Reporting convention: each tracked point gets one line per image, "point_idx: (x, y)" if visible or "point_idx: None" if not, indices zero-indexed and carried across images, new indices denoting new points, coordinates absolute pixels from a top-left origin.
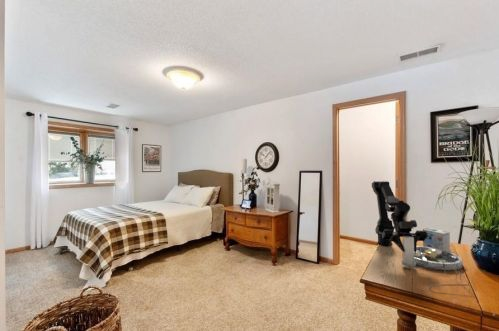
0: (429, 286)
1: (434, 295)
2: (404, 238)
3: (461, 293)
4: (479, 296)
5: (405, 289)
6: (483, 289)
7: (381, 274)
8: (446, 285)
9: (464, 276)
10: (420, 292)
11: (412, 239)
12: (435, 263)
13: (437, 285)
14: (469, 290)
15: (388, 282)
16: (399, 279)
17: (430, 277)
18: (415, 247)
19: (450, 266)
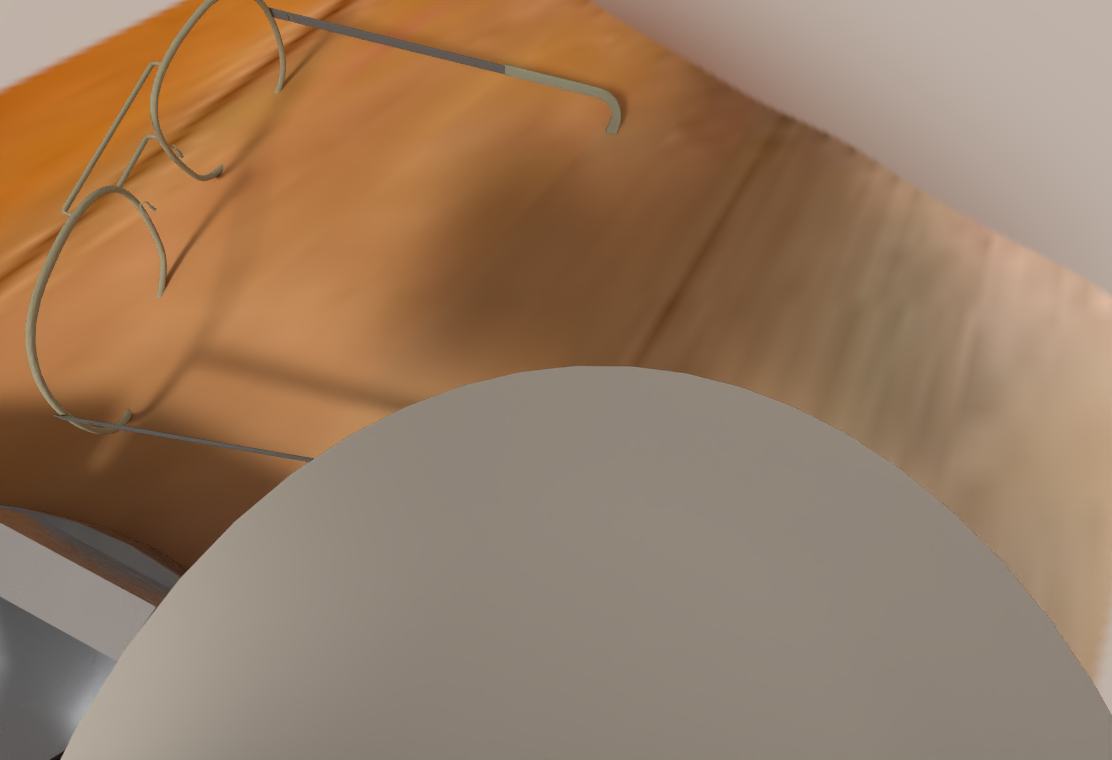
0: (620, 111)
1: (638, 58)
2: (1032, 658)
3: (388, 64)
4: (281, 24)
5: (828, 141)
6: (106, 99)
7: (981, 425)
8: (473, 66)
9: (191, 28)
10: (725, 97)
11: (476, 398)
12: (69, 553)
13: (555, 82)
14: (281, 71)
15: (943, 252)
16: (812, 304)
17: (429, 335)
18: None
19: (46, 263)
